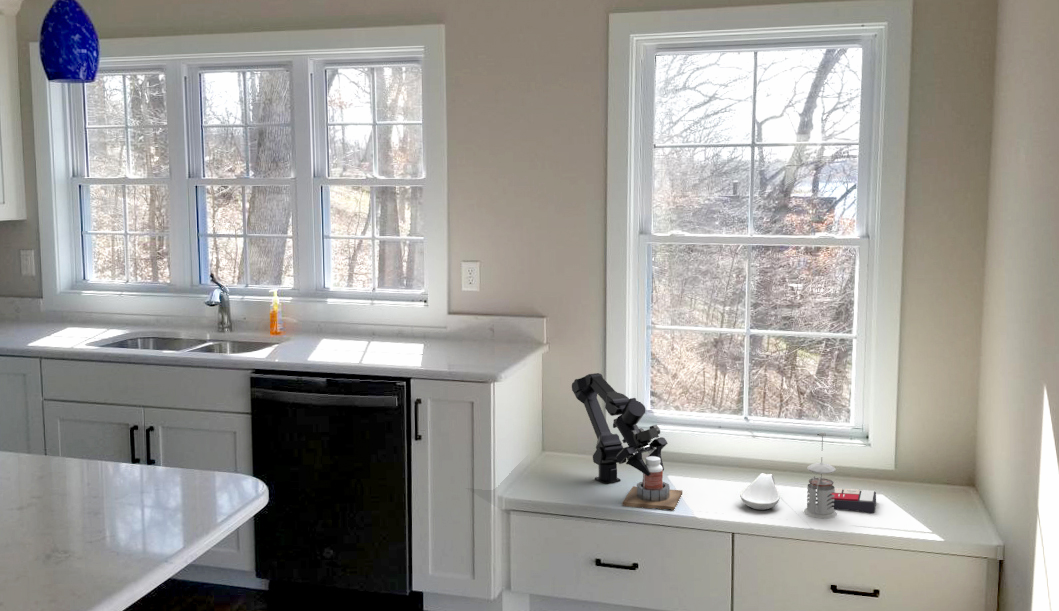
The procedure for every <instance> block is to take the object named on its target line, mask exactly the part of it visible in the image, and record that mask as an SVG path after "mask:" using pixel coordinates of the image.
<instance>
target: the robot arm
mask: <svg viewBox="0 0 1059 611" xmlns="http://www.w3.org/2000/svg"><path fill="white" fill-rule="evenodd" d="M571 391H572V393H573V394H574V396H575V398H576V399H577V400H578V401H579V402H581V403H582V404H583V405H584V408H585V410H586V413H587V415H588V416H587V417H588V418H589V421H590V423H591V425H592V428H593V430H594V433H595V436H596V438H597V440H596V441H597V442H596V444H595V449H596V450H595V451H594V452H593V455H592V461H593V463H594V464H596V465H597V466H598V476H596V477H594V480H596V481H598V482H600V483H602V484H605V485H606V484H611V483H616V482H621V480H622V479H620V478H619V477H618V464H619V465H621V464H624V463H625V464H626V465H629V466H631V467H633V468H634V469H637V470H638V471H639V472H641V473H642V474H643V473H644V474H645V475H647V476H649V475H650V472H649V470H648V468H647V466H646V463H645V461H644V460H643V453H648V454H649V455H648V456H647V457H650V456H655V457H659V458H660V461H661V462H660V465H661V466H662V467H663V472H664V470H665V467H664V463H663V459H662V450H663V449H664V448H665V447H666V446H667V445H668V441H667V439H666V438H665V437H663V436H661V437H660V436H659V435H661V430H660V427H659V425H657V424H653V425H650V426H649V429H644V428H640V427H638V425H637V424H639V422H640V421H641V419H642V418H643V416H644V415H645V414H646V411H647V410H646V406H645V405H644V404H643V403H642V402H641V401H639V400H637V398H636V397H631V398H629V397H628V396H626V395H625V394H624V393H621V392H617V391H616V390H615V388H613V387H612V386H611V385H610V384H609V383H608V382H607V381H606V380H605V378H604V377H603V375H602V373H599V372H595V373H588V374H586V375H585V376H583V377H579V378H576V379H574V381H573V382H572V384H571ZM598 396H599V397H600V398H601V399H602V401H603V402H604V403H605V405H604V406H605V407H604V408H605V410H606V412H607V413H608V415H609V416H612V417H614V416H617V417H616V418H614V419H613V424H612V428H613V429H616V428H617V430H618V431H619V433H620V434H621V436H622V438H623V439H622V440H621V439H620V435H618V434H617V433H614V434H613V433H612V432H611V429H610V426H609V425H608V423H607V420H606V418H605V415H604V413H603V410H602V408H601V405H600V402H599V400H598ZM621 441H622V442H623V443H622V442H621ZM625 443H626V444H627V446H626V447H624V446H623V445H622V444H625Z"/></svg>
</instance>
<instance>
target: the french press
mask: <svg viewBox="0 0 1059 611" xmlns="http://www.w3.org/2000/svg"><path fill="white" fill-rule="evenodd" d="M818 436H820V437H821V450H824V449H823V444H824V443H823V442H824V439H823V438H824V437H826V432H825V431H819V434H818ZM820 459H821V462H814V463H811V464H810V465H808V466H807V470H808V471H809V472H811V473H815V474H819V475H820V477H816V475H815V476H813V478H810V479H809V480H808V482H809V483H808V484H807V496H806V498H807V499H806V501H807V503H806V507H805V509H804V510H803V513H804V515H805V516H809V517H812V518H815V519H832V518H835V517H837V516H838V512H837V511H836V509H834V507H832V505H833V506H834V503H832V501H833V502H834V499H832V497H834V495H832V494H831V493H835V488H836V487H835V485H834V481H833V480H831V479H828V478H824V477H823V475H825V474H826V475H827V474H833V473H834V472H836V470H837V469H836V468H835V467H834V466H833V465H831V464H829V463H827V462H823V458H820Z"/></svg>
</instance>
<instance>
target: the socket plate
mask: <svg viewBox="0 0 1059 611" xmlns="http://www.w3.org/2000/svg"><path fill="white" fill-rule="evenodd" d="M681 495H682V496H683V490H681V489H670V492H669V498H668V499H667V500H664V501H656V502H651V501H644V500H641V499H639V498H637V486H635V485H633V486H632V487H631V489H630V490H629V492H628V494H626V496H625V498H624V500H622V506H623V507H629V506H630V507H632V508H642V507H643V508H644V509H651V508H659V509H658V510H662V509H671V510H670V511H673V510H674V509H675V510H676V508H675V507H677V506H678V504H679V502H680V500H681V498H682V496H681ZM680 497H681V498H680ZM679 499H680V500H679ZM678 501H679V502H678ZM677 503H678V504H677ZM676 505H677V506H676ZM643 508H642V509H643ZM675 510H674V511H675Z"/></svg>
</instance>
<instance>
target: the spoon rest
mask: <svg viewBox="0 0 1059 611" xmlns="http://www.w3.org/2000/svg"><path fill="white" fill-rule="evenodd" d="M780 496H781V495H780V492H779V490H778V488H777V486H776V481H775V478H774V475H773V474H772V473H770V474H769V473H767V474H766V473H763V472H761V473H760V474H758V476H756V478H755V480H753V481H752V482H750V484H748V485H747V486H746V487H745V488H744V489H743V490H742V491H741V492H740V499H741V501H742V502H743V503H744V504H745V506H747V507H749V508H751V509H753V510H757V511H759V510H760V511H764V510H770V509H772V508H774V507H775V506H777V504H778V503H779V502H780Z"/></svg>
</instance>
